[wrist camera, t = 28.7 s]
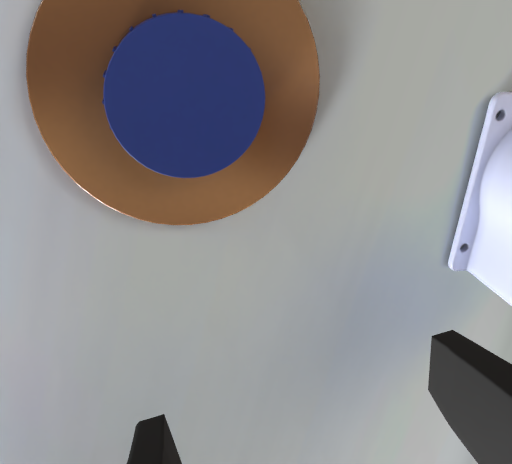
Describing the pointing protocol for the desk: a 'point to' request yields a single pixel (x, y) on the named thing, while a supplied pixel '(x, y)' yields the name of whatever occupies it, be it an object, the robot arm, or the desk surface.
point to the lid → (184, 94)
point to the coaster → (102, 137)
